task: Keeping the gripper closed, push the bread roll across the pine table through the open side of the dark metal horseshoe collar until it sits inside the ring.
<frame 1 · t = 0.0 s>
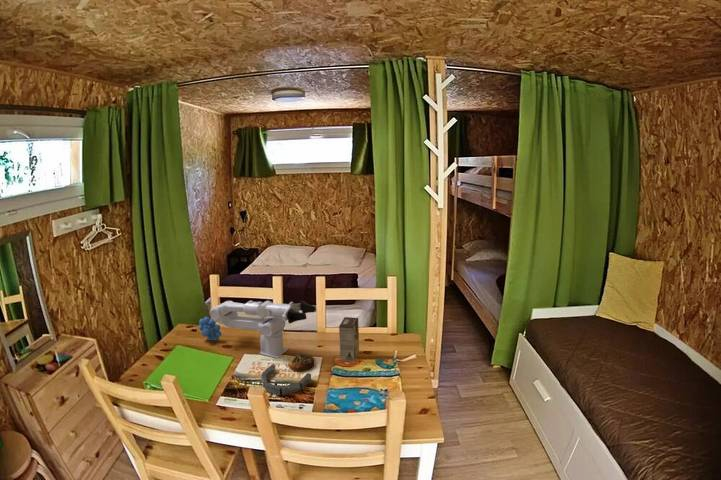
hand: (310, 312, 142), 22 cm above the table, tool horizontal, fingers open, 7 cm apart
grapes: (209, 341, 164), on the table
bread roll: (301, 365, 144), on the table
collar: (286, 379, 134), on the table
coffee box: (349, 356, 150), on the table
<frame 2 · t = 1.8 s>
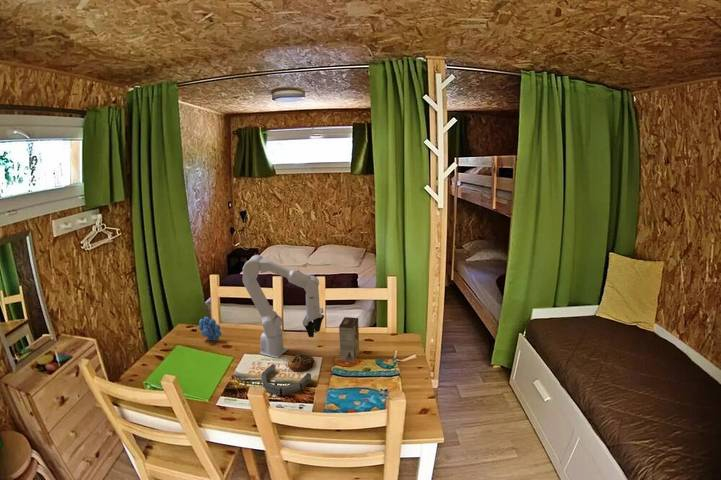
hand: (314, 333, 152), 8 cm above the table, tool pointing down, fingers open, 5 cm apart
nothing on the table moved.
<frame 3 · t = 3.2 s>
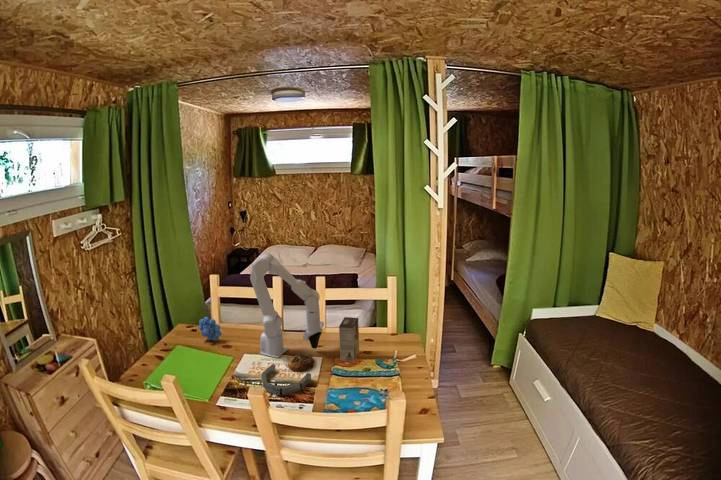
hand: (314, 347, 153), 2 cm above the table, tool pointing down, fingers closed
nothing on the table moved.
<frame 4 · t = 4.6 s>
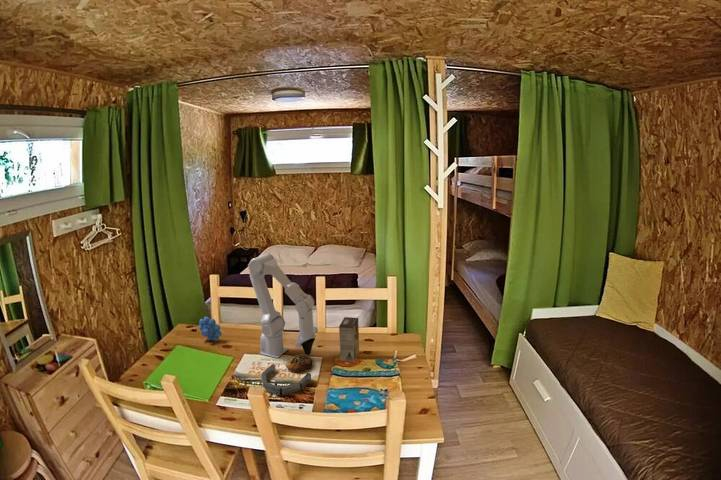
hand: (307, 354, 148), 2 cm above the table, tool pointing down, fingers closed
bread roll: (300, 366, 143), on the table, touching gripper
everything else where it was.
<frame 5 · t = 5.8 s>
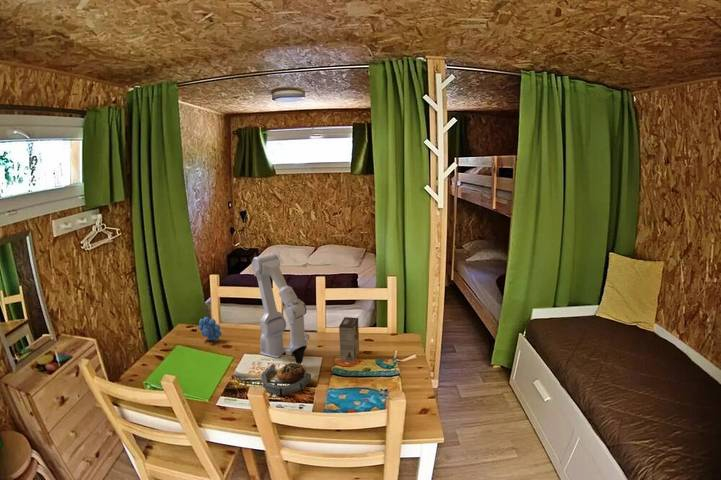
hand: (299, 362, 142), 2 cm above the table, tool pointing down, fingers closed
bread roll: (291, 375, 137), on the table
everything else where it was.
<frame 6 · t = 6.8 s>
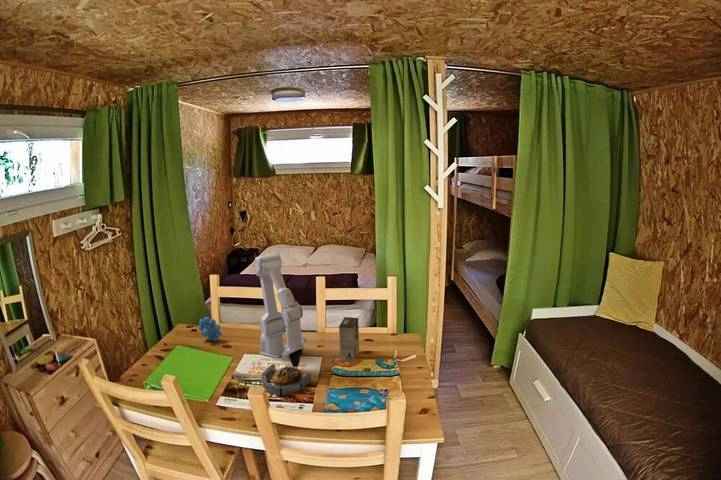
hand: (295, 365, 140), 2 cm above the table, tool pointing down, fingers closed
bread roll: (287, 379, 135), on the table
everything else where it was.
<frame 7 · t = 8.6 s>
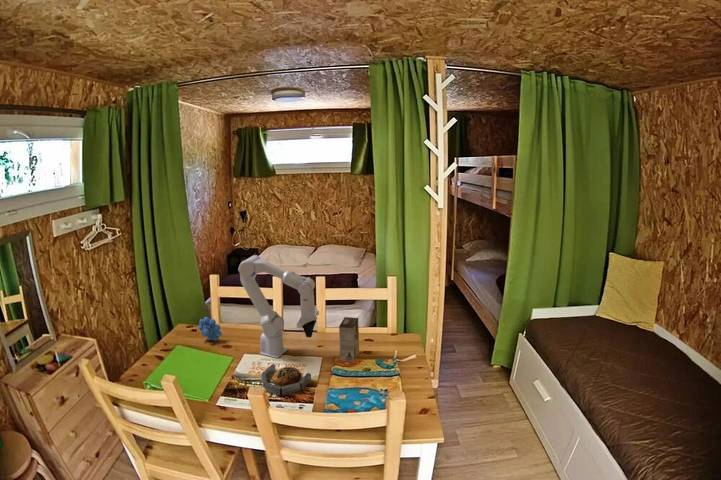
hand: (309, 336, 150), 9 cm above the table, tool pointing down, fingers closed
nothing on the table moved.
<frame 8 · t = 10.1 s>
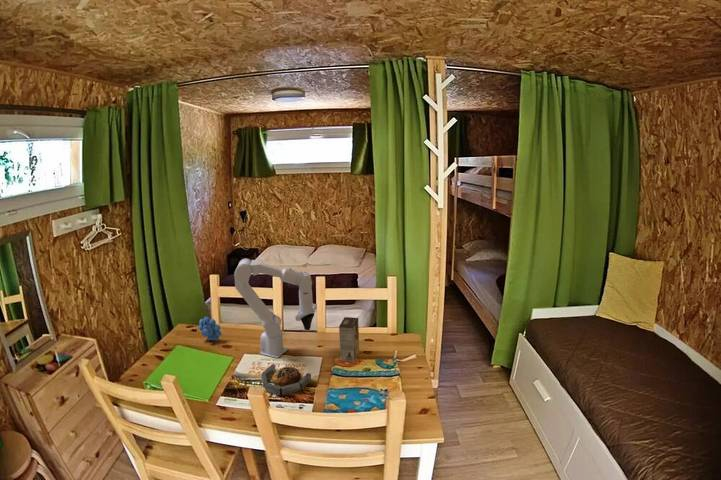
hand: (307, 329, 154), 9 cm above the table, tool pointing down, fingers closed
nothing on the table moved.
at the end: bread roll inside the target area on the collar (1.1 cm from its centre), point -0.5 cm above the collar's base; bread roll moved 10.5 cm from its start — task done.
